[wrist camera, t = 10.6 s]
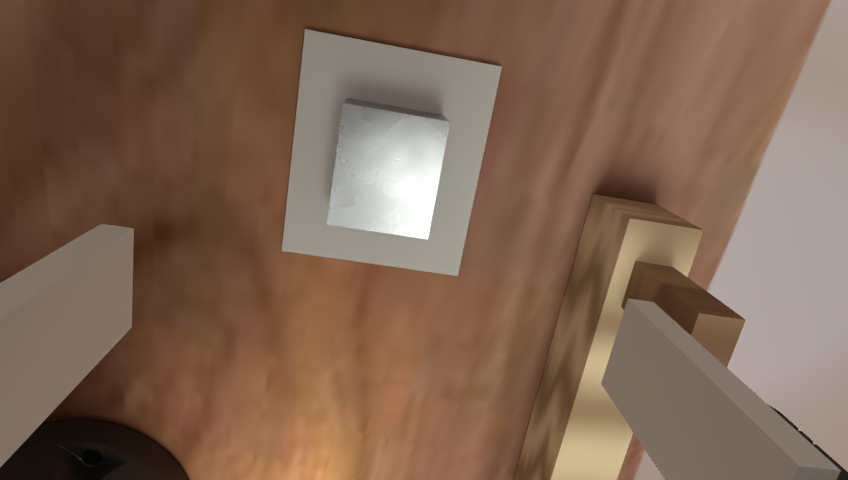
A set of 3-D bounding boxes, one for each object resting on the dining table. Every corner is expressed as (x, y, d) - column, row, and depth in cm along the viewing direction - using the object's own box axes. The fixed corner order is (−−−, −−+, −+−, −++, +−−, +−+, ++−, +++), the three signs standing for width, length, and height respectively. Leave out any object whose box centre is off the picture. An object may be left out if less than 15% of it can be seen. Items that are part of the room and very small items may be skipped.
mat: (456, 272, 39) (457, 275, 38) (283, 247, 37) (281, 250, 37) (500, 66, 34) (502, 66, 34) (306, 29, 33) (305, 29, 32)
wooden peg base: (561, 503, 46) (626, 668, 33) (508, 498, 45) (553, 664, 33) (655, 204, 38) (786, 274, 26) (592, 193, 37) (694, 260, 25)
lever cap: (423, 220, 37) (427, 239, 33) (333, 206, 36) (326, 224, 32) (443, 114, 34) (450, 121, 31) (347, 97, 34) (342, 102, 30)
